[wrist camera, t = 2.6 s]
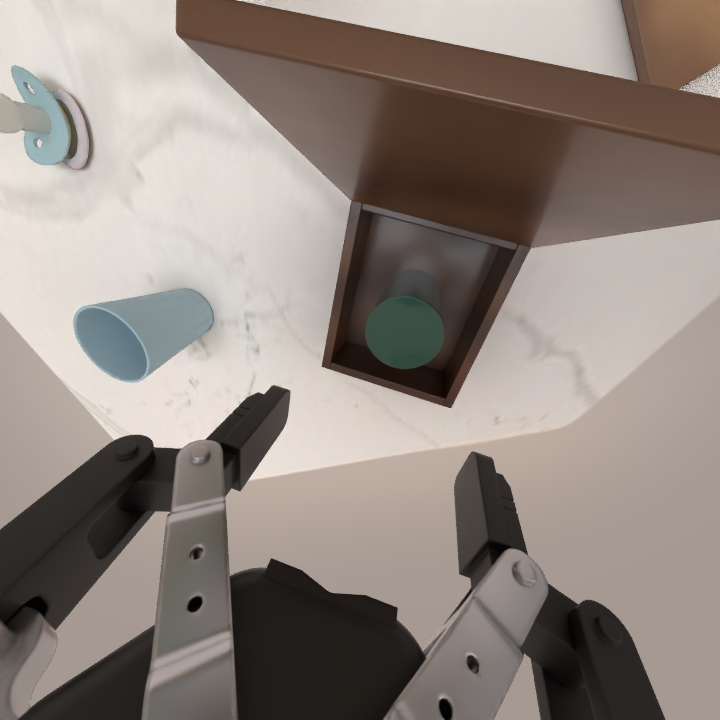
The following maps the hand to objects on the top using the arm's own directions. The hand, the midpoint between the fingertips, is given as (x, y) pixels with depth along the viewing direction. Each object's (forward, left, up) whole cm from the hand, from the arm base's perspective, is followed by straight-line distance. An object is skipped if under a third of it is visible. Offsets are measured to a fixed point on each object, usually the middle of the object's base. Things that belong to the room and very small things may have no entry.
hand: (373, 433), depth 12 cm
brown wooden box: (-1, 0, -19) cm, 19 cm away
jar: (-1, 0, -18) cm, 18 cm away
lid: (-7, -6, -5) cm, 10 cm away
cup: (+23, -11, -19) cm, 32 cm away
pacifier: (+21, -31, -19) cm, 43 cm away
